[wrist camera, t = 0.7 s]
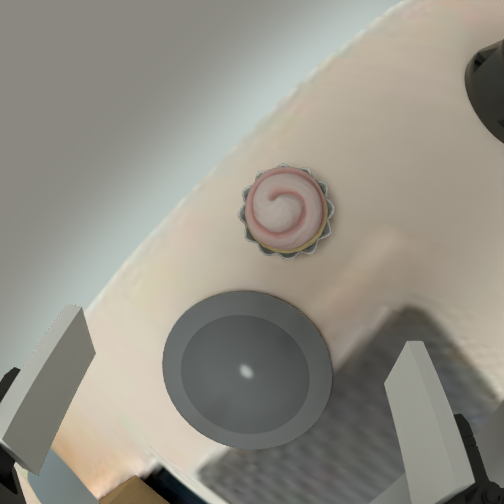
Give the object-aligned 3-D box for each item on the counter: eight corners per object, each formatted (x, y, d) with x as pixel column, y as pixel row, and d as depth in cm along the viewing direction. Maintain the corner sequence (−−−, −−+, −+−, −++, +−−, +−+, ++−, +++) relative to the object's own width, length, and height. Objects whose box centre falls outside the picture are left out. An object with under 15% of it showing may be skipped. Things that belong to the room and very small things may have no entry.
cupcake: (328, 171, 34) (332, 141, 25) (335, 256, 34) (343, 257, 24) (245, 178, 36) (220, 152, 26) (249, 261, 36) (225, 263, 26)
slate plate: (305, 269, 35) (305, 269, 34) (347, 427, 34) (348, 432, 32) (146, 313, 38) (141, 315, 37) (196, 451, 37) (193, 456, 36)
